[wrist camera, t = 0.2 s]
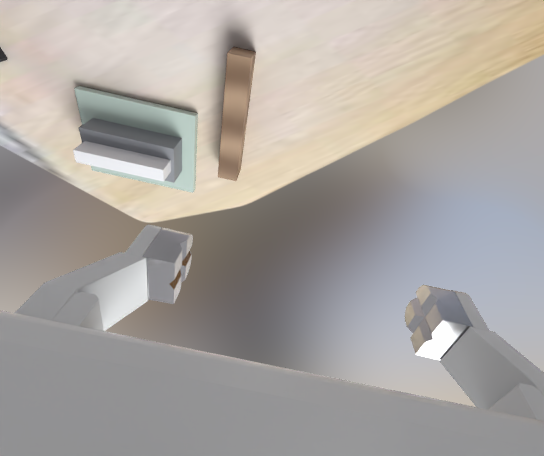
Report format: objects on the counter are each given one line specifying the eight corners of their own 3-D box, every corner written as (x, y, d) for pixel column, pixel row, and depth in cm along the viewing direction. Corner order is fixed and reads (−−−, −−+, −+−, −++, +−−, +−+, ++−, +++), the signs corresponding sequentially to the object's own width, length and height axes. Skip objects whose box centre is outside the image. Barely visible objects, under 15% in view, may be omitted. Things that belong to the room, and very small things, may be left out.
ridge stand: (79, 85, 47) (43, 104, 41) (197, 113, 48) (180, 135, 42) (95, 166, 56) (68, 191, 50) (195, 188, 57) (180, 216, 51)
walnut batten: (233, 46, 42) (227, 52, 39) (256, 51, 42) (251, 58, 39) (223, 164, 53) (217, 177, 50) (240, 168, 53) (236, 181, 50)
